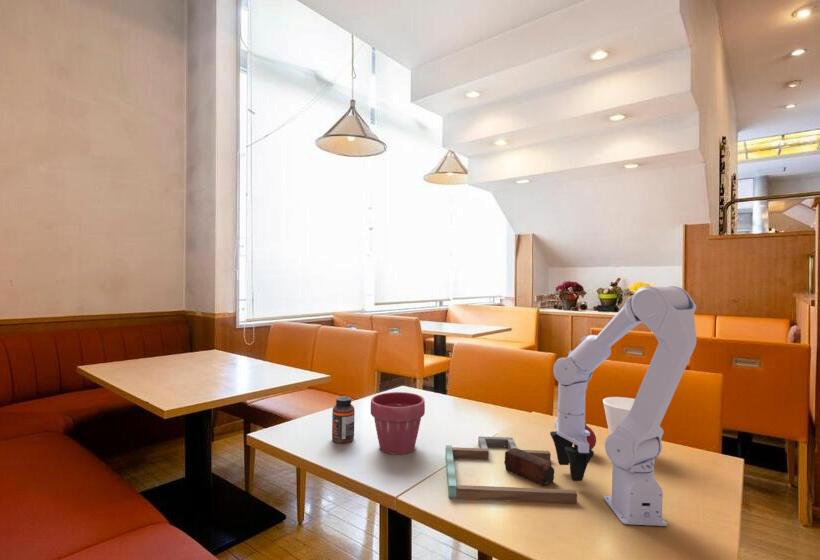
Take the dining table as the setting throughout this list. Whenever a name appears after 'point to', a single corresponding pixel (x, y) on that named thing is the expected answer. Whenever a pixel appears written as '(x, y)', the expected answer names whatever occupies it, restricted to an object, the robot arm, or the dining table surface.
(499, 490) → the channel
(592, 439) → the onion
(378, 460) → the dining table surface
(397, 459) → the dining table surface
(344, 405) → the supplement bottle
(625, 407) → the cup
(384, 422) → the plant pot
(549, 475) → the brick
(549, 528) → the dining table surface
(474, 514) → the dining table surface
